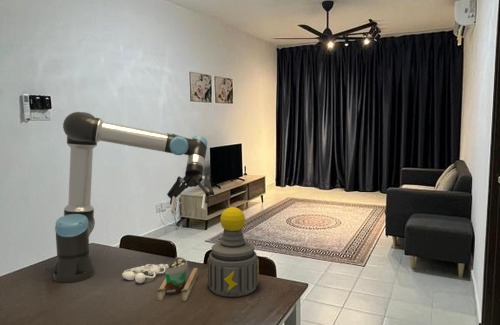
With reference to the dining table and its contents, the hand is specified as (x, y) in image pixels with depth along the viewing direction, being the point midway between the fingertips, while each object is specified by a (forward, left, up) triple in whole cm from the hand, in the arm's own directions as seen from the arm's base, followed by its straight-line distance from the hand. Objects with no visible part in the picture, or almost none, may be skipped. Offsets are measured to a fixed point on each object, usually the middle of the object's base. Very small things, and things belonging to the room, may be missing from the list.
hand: (187, 210), depth 157 cm
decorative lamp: (+20, -16, -25) cm, 36 cm away
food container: (0, -19, -25) cm, 31 cm away
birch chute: (0, -17, -25) cm, 30 cm away
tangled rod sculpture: (-16, -6, -25) cm, 31 cm away
